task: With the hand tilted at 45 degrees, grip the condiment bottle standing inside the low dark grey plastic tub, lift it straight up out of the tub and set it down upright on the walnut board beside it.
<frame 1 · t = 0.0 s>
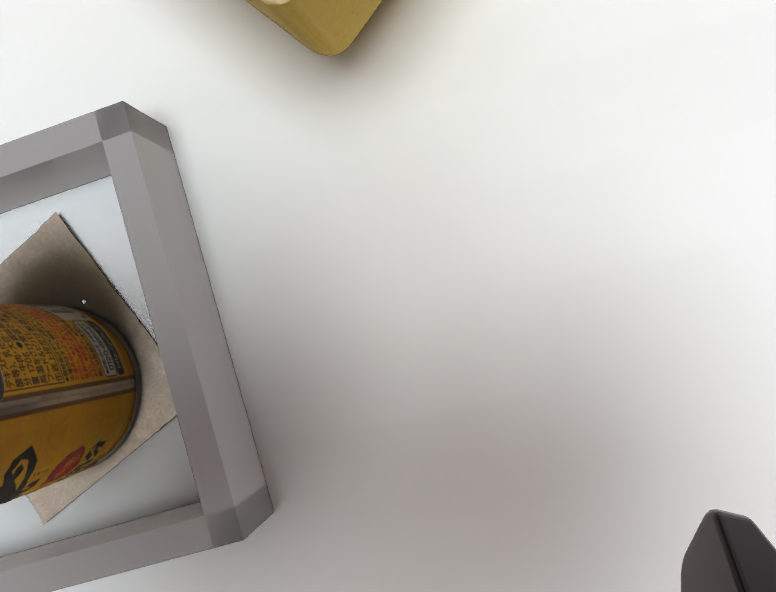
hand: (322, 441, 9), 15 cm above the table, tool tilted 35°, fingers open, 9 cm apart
parts tub: (53, 367, 25), on the table
condiment: (58, 366, 25), resting in parts tub
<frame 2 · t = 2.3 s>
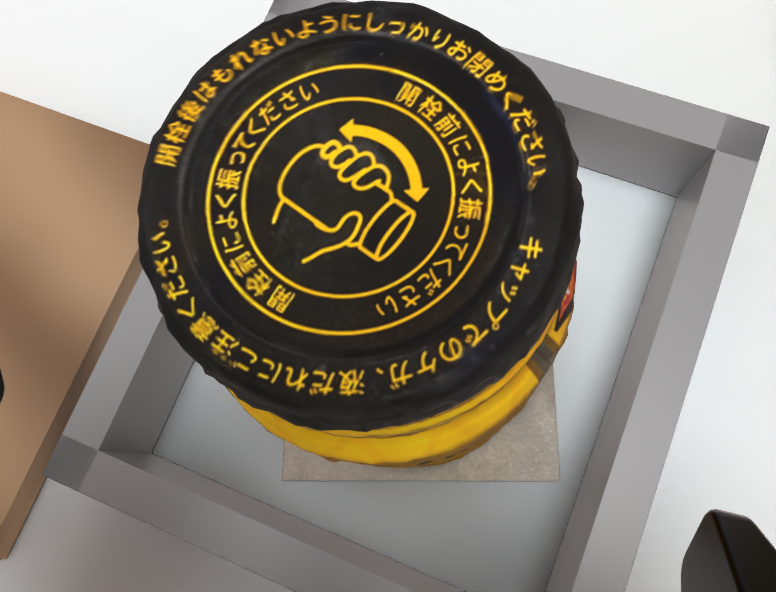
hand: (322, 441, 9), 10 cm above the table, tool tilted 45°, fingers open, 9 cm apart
parts tub: (417, 323, 19), on the table
condiment: (417, 325, 20), resting in parts tub
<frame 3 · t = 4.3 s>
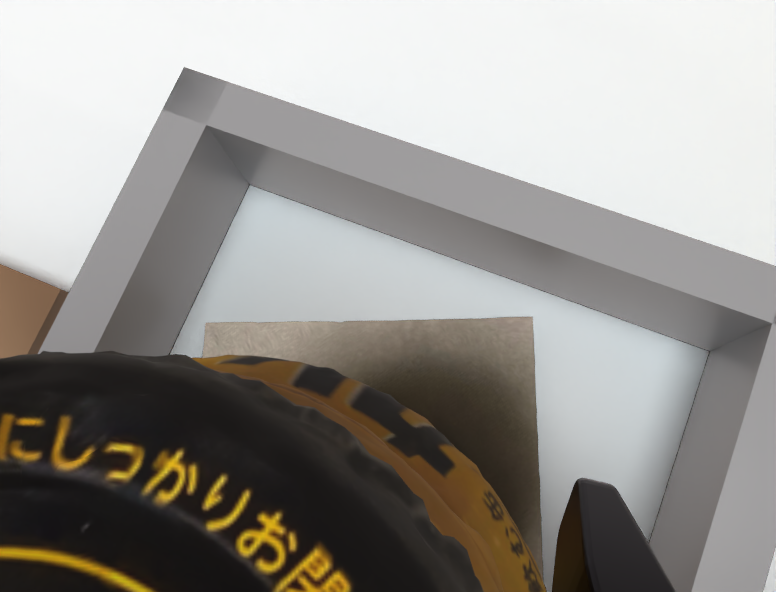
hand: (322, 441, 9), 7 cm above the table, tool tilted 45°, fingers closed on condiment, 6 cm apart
parts tub: (363, 520, 15), on the table
condiment: (364, 519, 15), resting in parts tub, touching gripper
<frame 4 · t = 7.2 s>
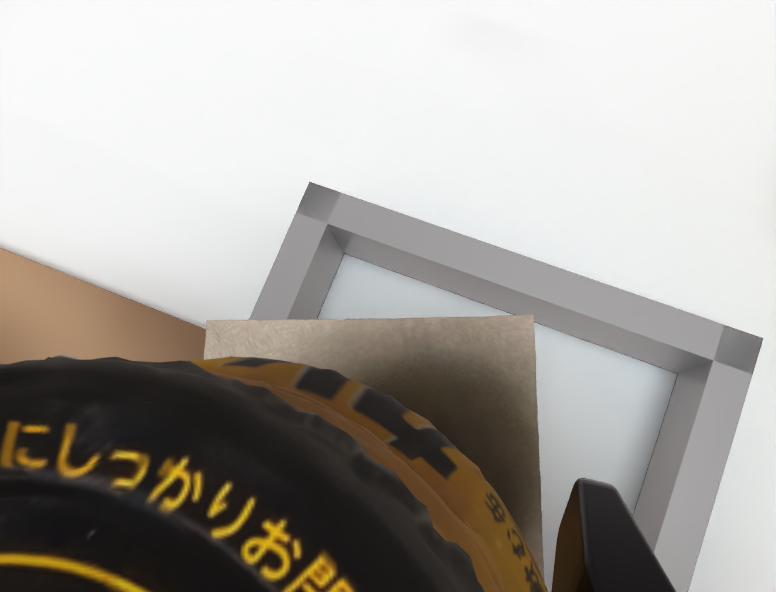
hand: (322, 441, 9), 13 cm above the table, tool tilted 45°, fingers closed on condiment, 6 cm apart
walnut board: (13, 456, 22), on the table
parts tub: (435, 494, 21), on the table
condiment: (365, 516, 15), point 6 cm above the table, touching gripper
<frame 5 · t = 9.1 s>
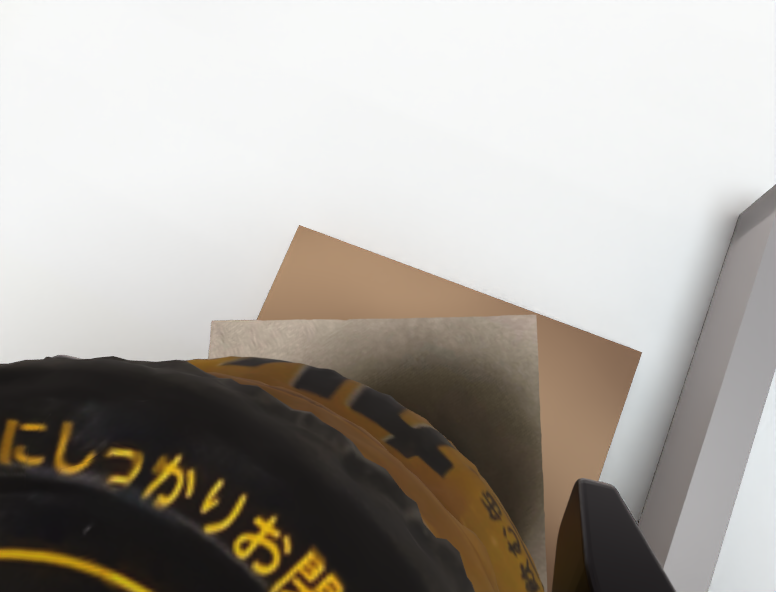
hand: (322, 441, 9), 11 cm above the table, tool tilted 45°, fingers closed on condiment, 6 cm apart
walnut board: (383, 493, 19), on the table
condiment: (369, 515, 15), point 4 cm above the table, touching gripper
when the fingers open (9 cm above the table, at t = 10.4 s): condiment drops 1 cm, resting on walnut board.
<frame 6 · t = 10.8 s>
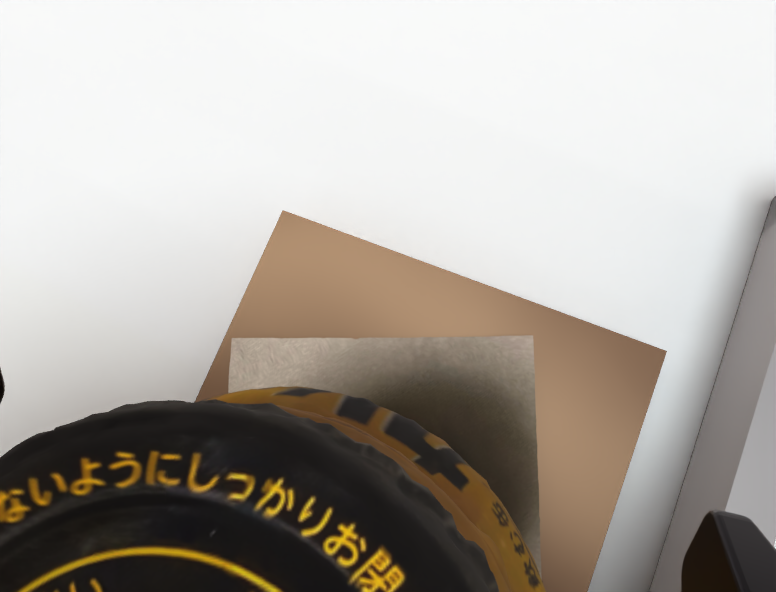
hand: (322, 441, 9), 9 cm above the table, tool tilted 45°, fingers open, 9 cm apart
walnut board: (376, 510, 17), on the table
condiment: (378, 520, 16), point 1 cm above the table, touching walnut board
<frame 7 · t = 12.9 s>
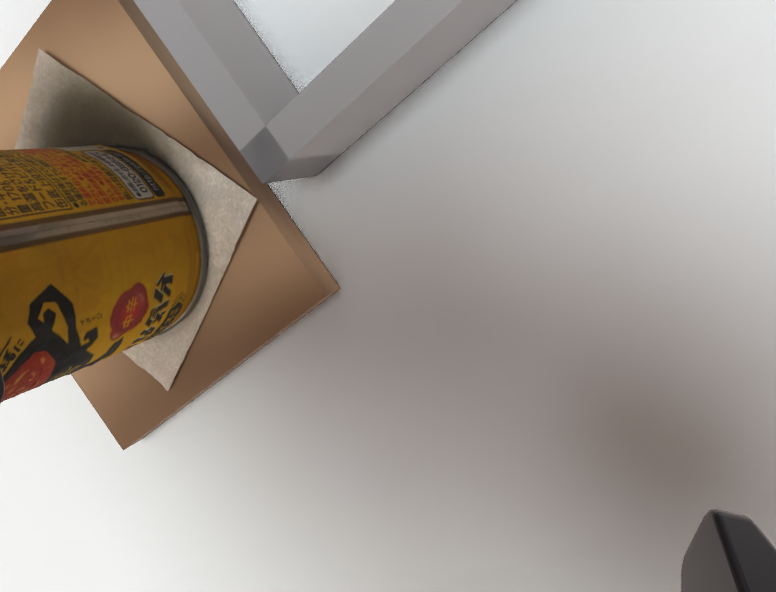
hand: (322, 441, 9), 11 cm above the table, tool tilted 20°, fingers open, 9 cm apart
walnut board: (128, 220, 23), on the table
condiment: (116, 223, 22), point 1 cm above the table, touching walnut board
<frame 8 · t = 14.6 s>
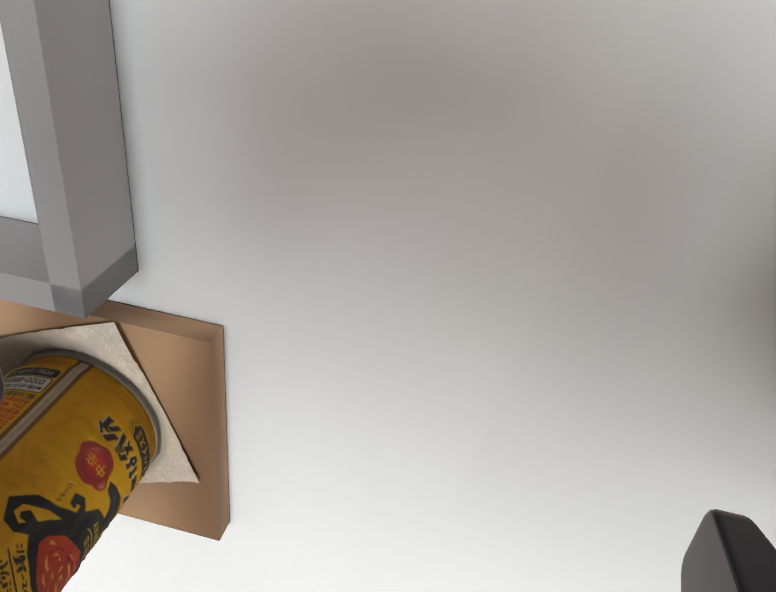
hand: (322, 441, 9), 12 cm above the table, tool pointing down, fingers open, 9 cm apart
walnut board: (83, 398, 27), on the table
condiment: (72, 408, 27), point 1 cm above the table, touching walnut board
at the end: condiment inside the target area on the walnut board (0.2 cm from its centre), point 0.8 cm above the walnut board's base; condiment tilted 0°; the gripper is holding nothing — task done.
